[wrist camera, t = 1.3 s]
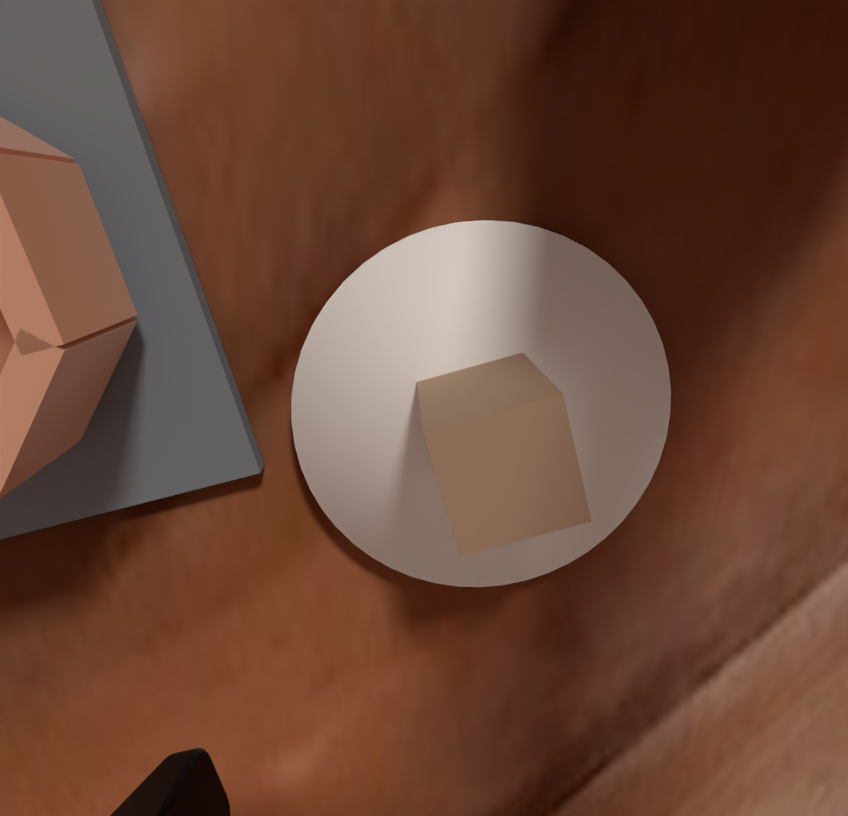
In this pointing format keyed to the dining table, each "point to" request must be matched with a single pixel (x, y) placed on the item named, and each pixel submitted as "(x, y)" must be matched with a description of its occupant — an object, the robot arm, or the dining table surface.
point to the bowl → (52, 305)
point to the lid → (481, 403)
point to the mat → (144, 277)
